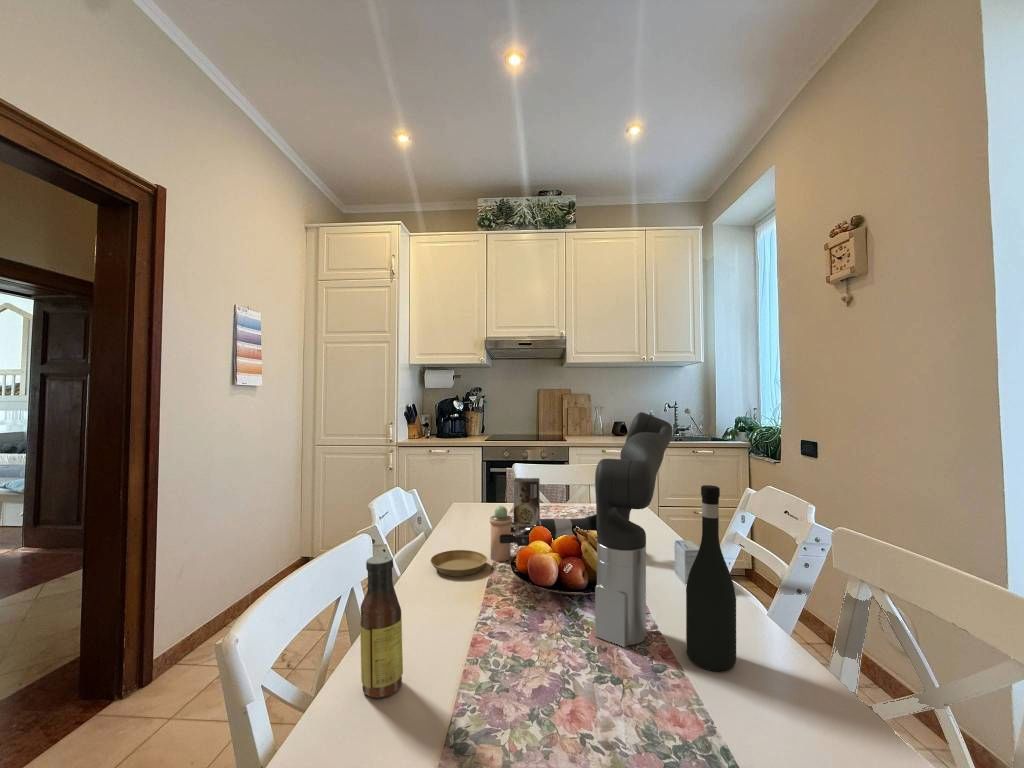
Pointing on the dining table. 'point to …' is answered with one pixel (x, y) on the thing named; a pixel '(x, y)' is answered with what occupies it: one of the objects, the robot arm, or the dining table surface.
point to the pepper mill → (500, 527)
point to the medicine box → (684, 558)
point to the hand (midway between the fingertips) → (497, 534)
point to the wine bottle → (710, 596)
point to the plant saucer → (458, 562)
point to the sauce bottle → (381, 631)
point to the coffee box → (526, 500)
